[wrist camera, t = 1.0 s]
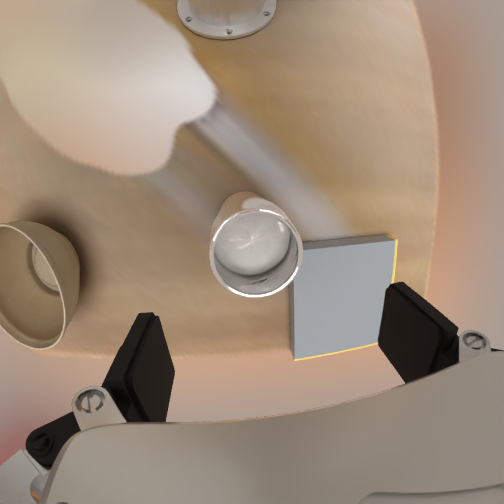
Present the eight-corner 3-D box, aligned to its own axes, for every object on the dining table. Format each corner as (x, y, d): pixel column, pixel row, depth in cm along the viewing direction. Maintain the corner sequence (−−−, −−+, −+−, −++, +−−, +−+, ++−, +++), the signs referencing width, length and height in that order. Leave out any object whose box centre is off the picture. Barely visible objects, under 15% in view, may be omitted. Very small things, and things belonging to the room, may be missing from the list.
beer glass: (284, 224, 34) (322, 268, 20) (236, 254, 35) (242, 317, 20) (253, 176, 32) (273, 185, 18) (204, 208, 33) (185, 242, 18)
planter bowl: (63, 326, 36) (32, 366, 26) (7, 249, 31) (-35, 273, 21) (122, 276, 34) (89, 316, 24) (56, 183, 30) (5, 194, 19)
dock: (287, 244, 35) (292, 251, 32) (387, 234, 36) (398, 239, 33) (290, 349, 40) (294, 362, 37) (376, 333, 41) (384, 343, 38)
